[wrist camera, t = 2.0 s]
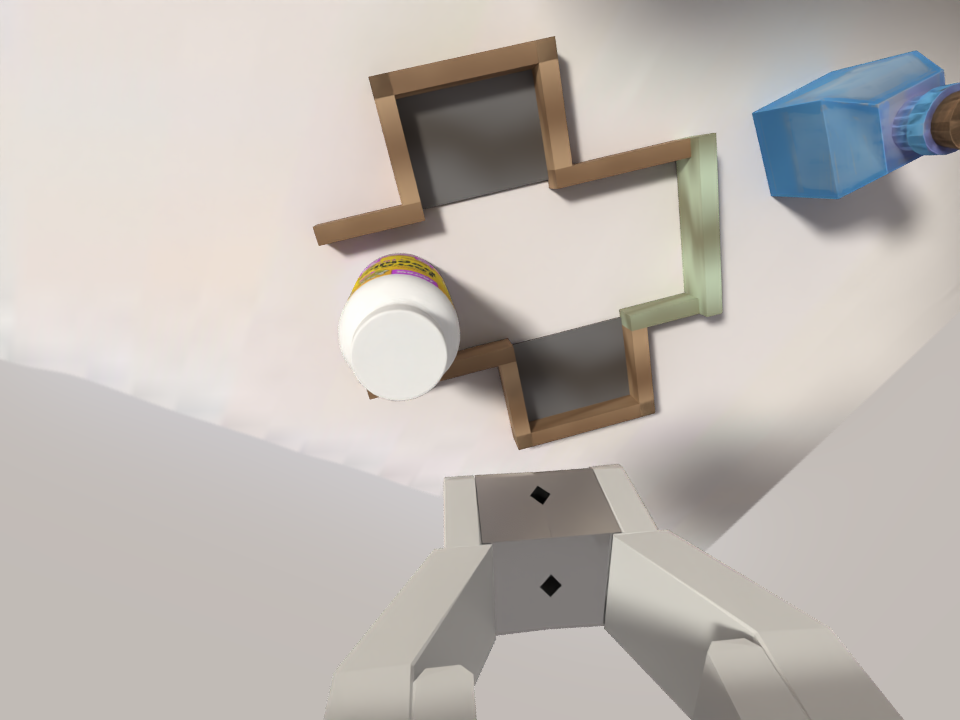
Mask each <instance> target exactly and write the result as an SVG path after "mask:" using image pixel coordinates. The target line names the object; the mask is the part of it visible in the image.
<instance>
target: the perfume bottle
mask: <svg viewBox="0 0 960 720" xmlns="http://www.w3.org/2000/svg"><path fill="white" fill-rule="evenodd" d="M752 115H753V119H754V124H755V128H756V132H757V137H758V141H759V145H760V150H761V154H762V158H763V163H764V167H765V172H766V176H767V180H768V185H769V189H770V193H771V196H783V197H805V198H827V199H839V198H841V197H843V196H845V195H847V194H849V193H851V192H853V191H855V190H857V189H859V188H861V187H863V186H865V185H867V184H869V183H871V182H873V181H875V180H876V179H878V178H880V177H882V176H884V175H886V174H888V173H890V172H892V171H894V170H896V169H898V168H900V167H902V166H904V165H906V164H908V163H910V162H912V161H913V160H915V159H917V158H919V157H921V156H923V155H947V154H950V153H953V152H956V151H957V150H960V83H954V84H949V85H945V77H944V70H943V69H941V68H940V67H939V66H937V65H936V64H934V63H933V62H932V61H930V60H929V59H927V58H926V57H925V56H923V55H922V54H921V53H919V52H918V51H912V52H908V53H904V54H900V55H896V56H892V57H888V58H884V59H880V60H876V61H872V62H868V63H864V64H860V65H856V66H852V67H848V68H844V69H840V70H836V71H832V72H830V73H828V74H826V75H824V76H822V77H820V78H819V79H817V80H815V81H813V82H811V83H809V84H807V85H805V86H803V87H801V88H799V89H797V90H795V91H794V92H792V93H790V94H788V95H786V96H784V97H782V98H780V99H778V100H776V101H774V102H772V103H771V104H769V105H767V106H765V107H763V108H761V109H759V110H757V111H755V112H753V113H752Z"/></svg>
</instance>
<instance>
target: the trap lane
mask: <svg viewBox="0 0 960 720" xmlns="http://www.w3.org/2000/svg"><path fill="white" fill-rule="evenodd" d="M369 81H370V85H371V89H372V92H373V96H374V100H375V104H376V108H377V111H378V115H379V119H380V123H381V127H382V130H383V134H384V138H385V142H386V146H387V150H388V153H389V157H390V161H391V165H392V169H393V172H394V176H395V180H396V184H397V188H398V191H399V195H400V199H401V203H402V205H398V206H394V207H389V208H385V209H381V210H377V211H372V212H368V213H364V214H360V215H355V216H351V217H347V218H343V219H338V220H334V221H330V222H326V223H321V224H317V225H316V226H314V227H313V229H314V232H315V236H316V239H317V242H318V245H319V246H321V245H325V244H329V243H333V242H337V241H341V240H346V239H350V238H354V237H358V236H362V235H367V234H371V233H375V232H379V231H383V230H388V229H392V228H396V227H400V226H404V225H409V224H413V223H417V222H421V221H425V217H424V213H423V209H426V208H430V207H435V206H439V205H443V204H447V203H452V202H456V201H460V200H464V199H468V198H473V197H477V196H481V195H485V194H490V193H494V192H498V191H502V190H506V189H511V188H515V187H519V186H523V185H528V184H532V183H536V182H540V181H544V180H548V183H549V188H551V189H560V188H564V187H568V186H572V185H576V184H580V183H585V182H589V181H593V180H597V179H601V178H606V177H610V176H614V175H618V174H622V173H627V172H631V171H635V170H639V169H643V168H648V167H652V166H656V165H660V164H664V163H669V162H673V161H676V166H677V182H678V197H679V213H680V229H681V245H682V260H683V276H684V292H685V293H682V294H678V295H674V296H670V297H666V298H663V299H659V300H655V301H651V302H647V303H643V304H639V305H635V306H631V307H628V308H624V309H620V310H619V312H620V317H618V318H614V319H610V320H606V321H602V322H598V323H594V324H591V325H587V326H583V327H579V328H575V329H571V330H567V331H563V332H559V333H556V334H552V335H548V336H544V337H540V338H536V339H532V340H528V341H525V342H521V343H517V344H513V345H512V344H511V342H510V341H509V339H508V338H507V339H503V340H499V341H495V342H491V343H487V344H483V345H480V346H476V347H472V348H468V349H464V350H460V351H458V352H457V355H456V357H455V359H454V361H453V363H452V364H451V366H450V367H449V369H448V370H447V371H446V372H445V373H444V374H443V376H442V378H441V379H440V381H443V380H447V379H450V378H454V377H458V376H462V375H466V374H470V373H474V372H477V371H481V370H485V369H489V368H493V367H497V366H498V369H499V374H500V378H501V383H502V387H503V392H504V397H505V401H506V406H507V410H508V415H509V419H510V424H511V428H512V433H513V438H514V440H515V442H516V445H517V447H518V449H519V450H521V449H525V448H529V447H532V446H536V445H540V444H543V443H547V442H551V441H554V440H558V439H562V438H565V437H569V436H573V435H576V434H580V433H584V432H587V431H591V430H595V429H598V428H602V427H606V426H609V425H613V424H617V423H620V422H624V421H628V420H631V419H635V418H639V417H643V416H646V415H650V414H654V413H655V406H654V395H653V385H652V374H651V364H650V353H649V342H648V332H647V327H650V326H654V325H658V324H662V323H666V322H670V321H673V320H677V319H681V318H685V317H689V316H693V315H696V314H701V315H704V316H706V317H710V316H713V315H717V314H721V313H722V286H721V258H720V229H719V201H718V172H717V143H716V133H711V134H704V135H697V136H691V137H686V138H682V139H678V140H674V141H669V142H665V143H661V144H657V145H652V146H648V147H644V148H640V149H635V150H631V151H627V152H623V153H618V154H614V155H610V156H606V157H601V158H597V159H593V160H589V161H584V162H580V163H576V164H572V158H571V151H570V144H569V136H568V129H567V122H566V114H565V107H564V100H563V92H562V85H561V78H560V70H559V63H558V56H557V48H556V41H555V36H554V37H549V38H544V39H540V40H535V41H531V42H526V43H521V44H517V45H512V46H508V47H503V48H498V49H494V50H489V51H485V52H480V53H476V54H471V55H466V56H462V57H457V58H453V59H448V60H443V61H439V62H434V63H430V64H425V65H421V66H416V67H411V68H407V69H402V70H398V71H393V72H388V73H384V74H379V75H375V76H370V77H369ZM367 392H368V395H369V398H370V399H374V398H377V397H378V396H376V395H374V394H373V393H371V392H370V391H368V390H367Z"/></svg>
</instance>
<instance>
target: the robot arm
mask: <svg viewBox="0 0 960 720" xmlns="http://www.w3.org/2000/svg"><path fill="white" fill-rule="evenodd" d="M443 499H444V548H439V549H434V550H433V551H432V553H431V554H430V555H429V556H428V558H427V559H426V560H425V561H424V562H423V564H422V565H421V566H420V567H419V569H418V570H417V571H416V572H415V573H414V575H413V576H412V577H411V578H410V580H409V581H408V582H407V583H406V585H405V586H404V587H403V588H402V590H401V591H400V592H399V593H398V594H397V596H396V597H395V598H394V599H393V601H392V602H391V603H390V604H389V605H388V607H387V608H386V609H385V610H384V612H383V613H382V614H381V615H380V616H379V618H378V619H377V620H376V621H375V623H374V624H373V625H372V626H371V627H370V629H369V630H368V631H367V632H366V634H365V635H364V636H363V637H362V639H361V640H360V641H359V642H358V643H357V645H356V646H355V647H354V648H353V650H352V651H351V652H350V653H349V654H348V656H347V657H346V658H345V659H344V661H343V662H342V663H341V664H340V665H339V667H338V668H337V669H336V671H335V672H334V673H333V677H332V681H331V686H330V691H329V696H328V700H327V706H326V711H325V715H324V720H477V719H476V705H475V692H474V686H475V684H476V681H477V679H478V677H479V675H480V673H481V670H482V668H483V666H484V664H485V662H486V660H487V657H488V655H489V653H490V651H491V649H492V647H493V644H494V642H495V640H496V636H497V635H505V634H513V633H521V632H529V631H538V630H546V629H549V628H550V629H558V628H559V629H560V628H576V627H592V626H604V629H605V630H606V631H607V632H608V633H609V634H610V635H611V636H612V637H613V638H614V639H615V640H616V641H617V642H618V643H619V644H620V646H621V647H622V648H623V649H624V650H625V651H626V652H627V653H628V654H629V655H630V656H631V657H632V658H633V659H634V660H635V661H636V662H637V663H638V664H639V665H640V667H641V668H642V669H643V670H644V671H645V672H646V673H647V674H648V675H649V676H650V677H651V678H652V679H653V680H654V681H655V682H656V683H657V684H658V685H659V686H660V687H661V689H663V691H664V692H665V693H666V694H667V695H668V696H669V697H670V698H671V699H672V700H673V701H674V702H675V703H676V704H677V705H678V706H679V707H680V708H681V709H682V710H683V712H685V713H686V715H687V716H688V717H689V718H690V719H691V720H903V718H902V717H901V716H900V714H899V713H898V712H897V711H896V709H895V708H894V707H893V706H892V704H891V703H890V702H889V701H888V700H887V698H886V697H885V696H884V694H883V693H882V692H881V691H880V689H879V688H878V687H877V686H876V684H875V683H874V682H873V681H872V680H871V678H870V677H869V676H868V674H867V673H866V672H865V671H864V669H863V668H862V667H861V666H860V664H859V663H858V662H857V661H856V660H855V658H854V657H853V656H852V654H851V653H850V652H849V651H848V650H847V648H846V647H845V646H844V644H843V643H842V642H841V641H840V639H839V638H838V637H837V636H836V634H835V633H834V632H833V631H832V629H831V628H830V627H828V626H826V625H824V624H823V623H821V622H820V621H818V620H816V619H815V618H813V617H811V616H810V615H808V614H806V613H805V612H803V611H801V610H800V609H798V608H796V607H795V606H793V605H792V604H790V603H788V602H787V601H785V600H783V599H782V598H780V597H778V596H777V595H775V594H773V593H772V592H770V591H768V590H767V589H765V588H764V587H762V586H760V585H759V584H757V583H755V582H754V581H752V580H750V579H749V578H747V577H745V576H744V575H742V574H740V573H739V572H737V571H735V570H734V569H732V568H730V567H729V566H727V565H725V564H724V563H722V562H721V561H719V560H717V559H715V558H714V557H712V556H710V555H709V554H707V553H706V552H704V551H702V550H701V549H699V548H697V547H696V546H694V545H692V544H691V543H689V542H687V541H686V540H684V539H683V538H681V537H679V536H678V535H676V534H674V533H673V532H671V531H669V530H658V528H657V526H656V525H655V523H654V521H653V519H652V518H651V516H650V514H649V512H648V511H647V509H646V507H645V505H644V504H643V502H642V500H641V498H640V497H639V495H638V493H637V491H636V490H635V488H634V486H633V484H632V483H631V481H630V479H629V477H628V476H627V474H626V472H625V470H624V469H623V467H622V466H620V465H619V464H613V465H603V466H594V467H589V468H583V469H571V470H558V471H545V472H523V473H504V474H486V475H475V478H474V476H473V475H470V476H455V477H445V478H444V482H443Z"/></svg>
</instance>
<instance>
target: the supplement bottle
mask: <svg viewBox="0 0 960 720" xmlns="http://www.w3.org/2000/svg"><path fill="white" fill-rule="evenodd" d="M338 338H339V345H340V349H341V352H342V355H343V357H344V359H345V361H346V363H347V364H348V366H349V367H350V369H351V370H352V371H353V372H354V374H355V376H356V378H357V379H358V381H359V382H360V383H361V384H362V385H363V386H364V387H365V388H366V389H367V390H368V391H370V392H371V393H373V394H374V395H376V396H378V397H381V398H384V399H387V400H392V401H405V400H411V399H415V398H417V397H420V396H422V395H424V394H426V393H427V392H429V391H430V390H431V389H432V388H434V387H435V386H436V384H437V383H438V382H439V381H440V379H441V378H442V376H443V374H444V373H445V372H446V371H447V370H448V369H449V367H450V366H451V364H452V363H453V361H454V359H455V357H456V355H457V352H458V348H459V343H460V326H459V321H458V316H457V314H456V311H455V308H454V306H453V303H452V300H451V298H450V295H449V292H448V290H447V287H446V285H445V282H444V280H443V279H442V277H441V275H440V274H439V272H438V271H437V270H436V269H435V268H434V267H433V266H432V265H431V264H430V263H428V262H427V261H425V260H424V259H422V258H420V257H418V256H415V255H411V254H405V253H395V254H389V255H386V256H383V257H380V258H378V259H376V260H375V261H373V262H372V263H371V264H369V265H368V266H367V267H366V268H365V269H364V270H363V272H362V273H361V275H360V276H359V278H358V280H357V282H356V284H355V286H354V288H353V290H352V292H351V294H350V296H349V298H348V301H347V303H346V304H345V306H344V309H343V311H342V314H341V316H340V320H339V326H338Z"/></svg>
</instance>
